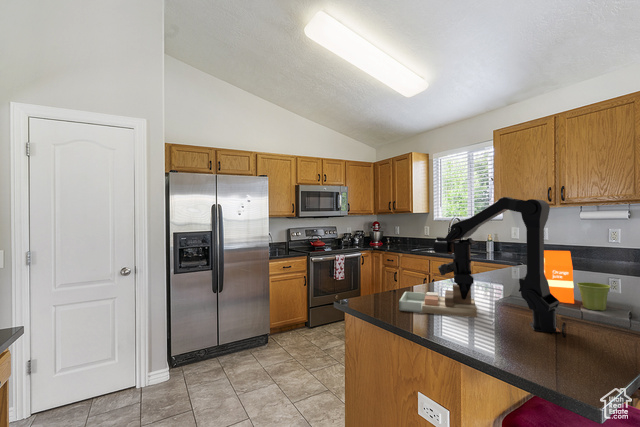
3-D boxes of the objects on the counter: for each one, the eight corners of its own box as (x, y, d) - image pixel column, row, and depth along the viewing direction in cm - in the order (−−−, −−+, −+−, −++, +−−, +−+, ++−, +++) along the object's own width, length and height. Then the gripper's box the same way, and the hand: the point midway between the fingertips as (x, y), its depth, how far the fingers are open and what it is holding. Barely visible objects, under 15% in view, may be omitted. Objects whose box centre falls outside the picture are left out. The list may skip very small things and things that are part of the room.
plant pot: (571, 307, 114) (571, 283, 114) (585, 303, 118) (584, 281, 118) (603, 313, 106) (602, 288, 106) (617, 309, 110) (616, 285, 110)
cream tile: (438, 300, 118) (438, 295, 118) (426, 299, 120) (426, 294, 120) (438, 297, 123) (438, 292, 123) (427, 296, 124) (426, 291, 124)
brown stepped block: (472, 307, 107) (471, 290, 107) (445, 305, 110) (444, 288, 110) (470, 298, 119) (469, 282, 119) (445, 296, 122) (445, 281, 122)
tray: (421, 312, 112) (421, 302, 112) (399, 310, 115) (399, 301, 115) (424, 301, 127) (424, 292, 127) (405, 299, 130) (405, 291, 130)
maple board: (477, 317, 105) (476, 310, 105) (422, 312, 112) (422, 305, 112) (474, 305, 119) (473, 298, 120) (425, 301, 127) (425, 295, 127)
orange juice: (574, 303, 119) (572, 252, 119) (546, 300, 123) (544, 251, 124) (570, 298, 125) (568, 250, 126) (544, 296, 130) (542, 249, 130)
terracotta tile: (437, 305, 112) (437, 299, 112) (424, 304, 114) (424, 298, 114) (438, 302, 116) (437, 296, 116) (425, 301, 118) (425, 295, 118)
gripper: (439, 252, 126) (441, 290, 126) (438, 258, 109) (439, 302, 108) (469, 253, 121) (471, 292, 121) (472, 259, 104) (474, 305, 104)
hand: (463, 297), depth 114 cm, fingers closed on brown stepped block, 4 cm apart
